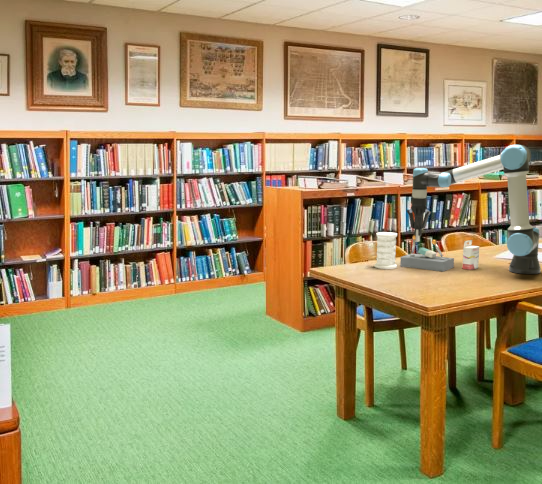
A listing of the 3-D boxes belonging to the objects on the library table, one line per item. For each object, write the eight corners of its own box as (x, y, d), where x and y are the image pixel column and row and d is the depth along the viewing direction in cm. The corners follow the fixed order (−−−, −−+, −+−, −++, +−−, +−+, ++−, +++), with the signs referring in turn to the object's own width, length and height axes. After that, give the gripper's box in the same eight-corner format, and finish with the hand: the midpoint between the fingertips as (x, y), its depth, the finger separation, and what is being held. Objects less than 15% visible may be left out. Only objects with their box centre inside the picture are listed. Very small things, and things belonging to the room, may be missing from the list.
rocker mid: (435, 256, 342) (436, 252, 341) (431, 258, 338) (432, 254, 337) (422, 251, 346) (423, 247, 345) (418, 252, 342) (419, 248, 342)
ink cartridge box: (470, 270, 334) (472, 242, 332) (462, 269, 337) (463, 241, 335) (478, 268, 340) (480, 240, 338) (470, 266, 343) (471, 239, 341)
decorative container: (401, 267, 340) (402, 234, 337) (384, 269, 334) (385, 235, 332) (386, 264, 350) (387, 231, 347) (370, 266, 344) (371, 233, 341)
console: (453, 267, 341) (454, 256, 340) (443, 271, 330) (443, 260, 329) (411, 262, 356) (412, 251, 355) (400, 266, 345) (400, 255, 344)
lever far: (415, 253, 347) (418, 235, 345) (413, 253, 345) (416, 235, 343) (411, 252, 349) (414, 234, 346) (409, 252, 347) (411, 234, 344)
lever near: (445, 254, 337) (435, 238, 339) (443, 255, 335) (433, 238, 337) (441, 257, 339) (431, 240, 341) (439, 257, 337) (429, 241, 339)
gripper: (433, 197, 340) (431, 241, 343) (411, 196, 347) (409, 239, 351) (427, 198, 334) (425, 243, 337) (405, 197, 341) (403, 241, 345)
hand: (417, 241), depth 344 cm, fingers closed
